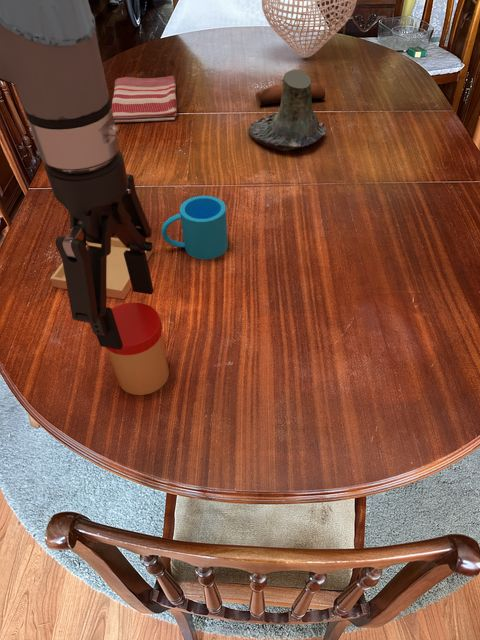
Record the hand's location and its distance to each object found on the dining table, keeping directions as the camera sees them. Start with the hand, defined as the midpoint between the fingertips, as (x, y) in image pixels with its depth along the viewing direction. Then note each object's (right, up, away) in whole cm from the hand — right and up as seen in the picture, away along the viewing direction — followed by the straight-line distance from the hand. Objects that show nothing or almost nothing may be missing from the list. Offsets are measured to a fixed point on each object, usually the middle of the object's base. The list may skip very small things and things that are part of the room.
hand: (128, 317), depth 66 cm
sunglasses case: (+25, +64, +72) cm, 100 cm away
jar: (0, -8, +9) cm, 12 cm away
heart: (+31, +87, +92) cm, 131 cm away
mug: (+5, +15, +30) cm, 34 cm away
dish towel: (-14, +62, +70) cm, 95 cm away
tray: (-11, +10, +25) cm, 29 cm away
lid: (0, -1, +1) cm, 2 cm away
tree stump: (+24, +48, +58) cm, 79 cm away
